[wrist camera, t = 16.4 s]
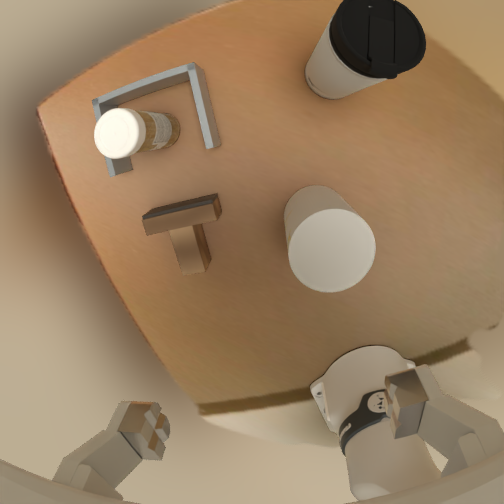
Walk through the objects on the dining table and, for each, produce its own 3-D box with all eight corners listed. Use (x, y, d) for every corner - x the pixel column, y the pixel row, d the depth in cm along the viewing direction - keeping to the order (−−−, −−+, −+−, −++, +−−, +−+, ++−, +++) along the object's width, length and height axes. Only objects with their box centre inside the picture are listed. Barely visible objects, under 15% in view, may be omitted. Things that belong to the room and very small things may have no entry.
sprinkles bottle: (144, 146, 37) (89, 157, 25) (150, 111, 35) (95, 106, 23) (178, 150, 37) (134, 162, 25) (184, 114, 35) (141, 109, 23)
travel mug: (301, 98, 34) (333, 64, 15) (306, 47, 31) (338, -25, 13) (353, 106, 34) (429, 89, 15) (357, 57, 31) (430, 2, 13)
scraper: (233, 255, 42) (229, 267, 38) (170, 266, 43) (161, 279, 39) (217, 193, 39) (211, 200, 35) (152, 208, 40) (140, 217, 36)
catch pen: (220, 145, 37) (213, 147, 32) (127, 171, 38) (110, 177, 34) (203, 70, 33) (193, 62, 29) (111, 102, 35) (91, 100, 30)
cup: (271, 206, 39) (271, 239, 28) (327, 172, 37) (350, 191, 26) (304, 258, 41) (315, 306, 30) (358, 227, 39) (388, 265, 28)
